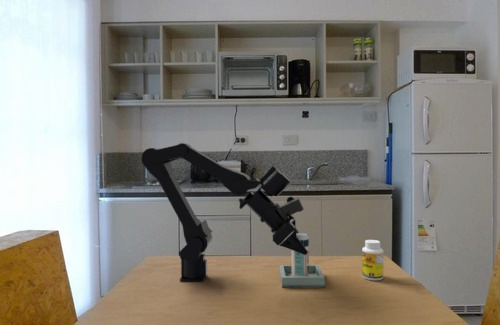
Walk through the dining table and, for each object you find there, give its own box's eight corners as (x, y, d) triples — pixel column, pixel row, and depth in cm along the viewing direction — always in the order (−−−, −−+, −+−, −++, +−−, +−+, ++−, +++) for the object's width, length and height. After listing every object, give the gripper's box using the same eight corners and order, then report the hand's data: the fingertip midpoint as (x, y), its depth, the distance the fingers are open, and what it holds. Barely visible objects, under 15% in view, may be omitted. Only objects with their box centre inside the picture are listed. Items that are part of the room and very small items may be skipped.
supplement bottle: (358, 276, 103) (357, 240, 103) (373, 273, 105) (373, 238, 105) (371, 282, 98) (371, 244, 98) (387, 279, 100) (387, 242, 100)
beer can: (304, 274, 103) (304, 231, 103) (312, 279, 99) (311, 235, 99) (288, 276, 102) (288, 233, 102) (295, 281, 98) (295, 236, 97)
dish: (281, 287, 95) (281, 277, 95) (280, 273, 106) (279, 264, 106) (324, 287, 95) (324, 277, 95) (318, 273, 106) (318, 264, 106)
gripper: (285, 191, 91) (331, 236, 90) (286, 185, 110) (323, 222, 109) (254, 222, 92) (298, 267, 91) (259, 211, 111) (297, 248, 110)
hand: (305, 249), depth 100 cm, fingers open, 9 cm apart
